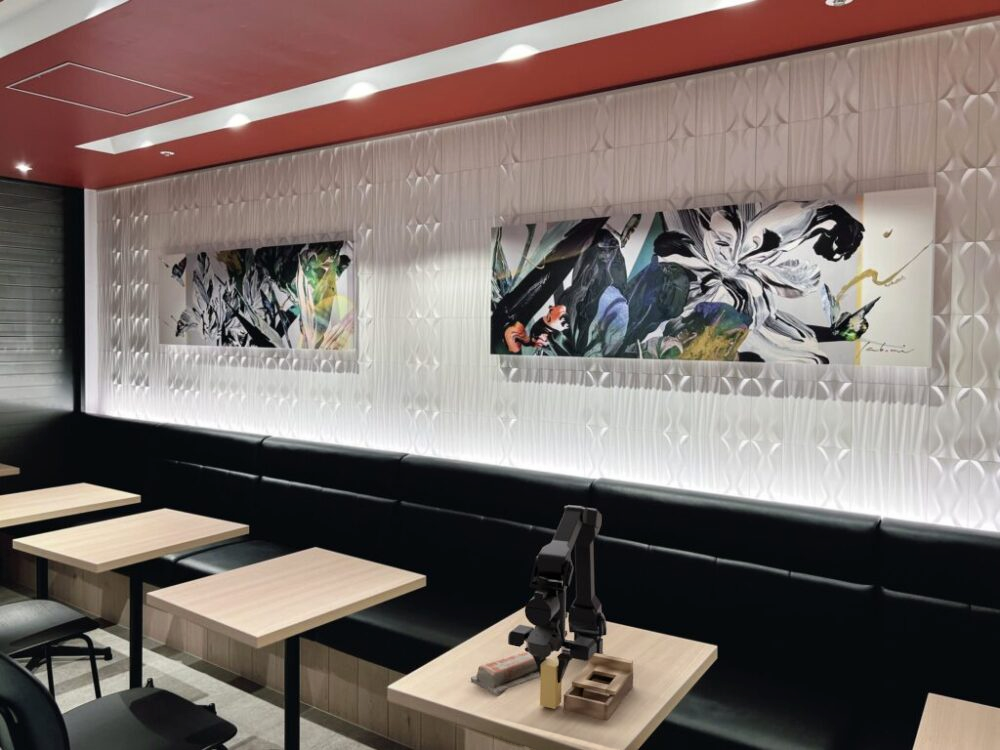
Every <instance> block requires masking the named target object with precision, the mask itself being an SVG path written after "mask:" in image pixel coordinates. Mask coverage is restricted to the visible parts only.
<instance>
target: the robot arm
mask: <svg viewBox="0 0 1000 750" xmlns="http://www.w3.org/2000/svg"><path fill="white" fill-rule="evenodd" d="M602 518H603V517H602V513H600V511H599V510H598V509H597V508H594V507H585V506H582V505H572V504H568V505H564V507H563V511H562V517H561V519H560V522H559V525H558V526H557V529H556V531H555V533H554V535H553V538H552V540H551V542H550V543H548V544H546V545H544V546H542V548H541V550H540V552H539V553H538V555H537V556H536V557H535V559H534V563H533V567H532V572H531V576H530V582H529V588H533V589H536V590H535V591H534V593H533V597H532V598H531V599H530V600H529V601H528V602H527V603H526V605H525V607H524V615H525V618H526V619H527V621H528V622H529V623H530V624H531V625H533V626H534V627H533V626H529V625H523V624H519V625H517V626H516V627H515V628H513V629H512V630H510V631H509V633H508V636H507V642H508V643H507V644H508V645H509V646H515V647H518V648H521V647H522V646H523V645H524V644H526V645H525V646H526V647H524V652H529V653H530V654H531V655H532V656H533V658H534V660H535V662H536V665H537V668H538V671H539V673H540V677H541V663H542V662H543V661H545V660H546V659H547V658H549V657H550V656H551V654H552V653H553V652H560V651H561V652H560V653H559V654H558V655H557V656H556V659H557V660H558V661H559V663H558V675H557V679H558V683H560V682H561V680H563V677H564V675H565V672H566V670H567V668H568V666H569V663H570V661H571V660H572V659H575V660H580V661H584V662H585V661H586V662H587V661H589V659H590V658H591V657H592V656H593V655H594V654H595V653H598V654H603V655H604V648H603V647H604V646H603V645H604V639H603V636H607V634H608V632H607V621H606V617H605V615H604V612H602V602H601V601H600V599H599V598H598V597H597V595H596V594H595V561H594V560H595V558H594V557H595V556H594V555H595V554H594V552H595V551H594V540H595V538H596V537H597V535H598V534H599V531H600V529H601V527H602V523H603V522H602V520H603V519H602ZM573 548H574V558H575V559H574V560H575V561H574V562H575V566H574V565H573V561H572V559H571V558H572V557H571V554H572V553H571V552H572V550H573ZM574 567H575V599H574V600H573V602H572V604H571V606H570V608H569V611H568V612H566V610H567V609H566V607H567V606H566V605H567V602H566V601H567V588H568V587H570V585H571V581H572V577H573V573H574ZM538 578H539V579H538ZM566 619H567V621H568V630H569V631H568V630H566ZM568 632H569V633H573V640H571V639H566V637H567V636H568ZM525 642H526V643H525Z"/></svg>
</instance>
